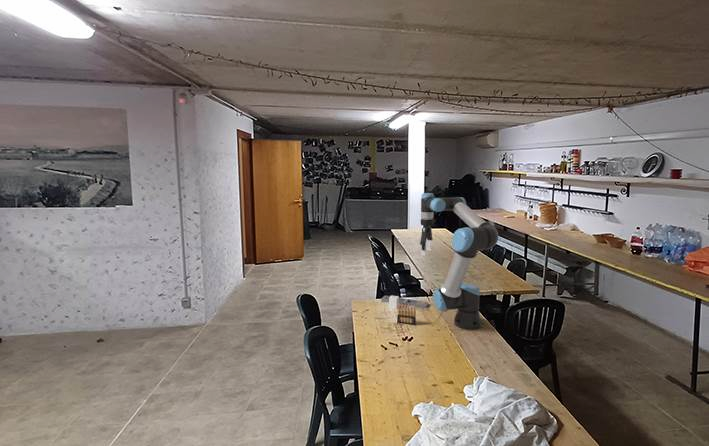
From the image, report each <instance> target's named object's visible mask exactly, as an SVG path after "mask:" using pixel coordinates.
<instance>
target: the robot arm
mask: <svg viewBox="0 0 709 446" xmlns="http://www.w3.org/2000/svg"><path fill="white" fill-rule="evenodd" d="M420 198H421V199H420V213H419V214H420V226H423V227H422V228H421V236H420V243H419V245H420V247H421V248H420V255H421V256H427V251H429V252H431V251H432V241H433V233H432V226H433V225H434V212H436V213H438V212H439V213H440V212H444V211H452V212H453V213H454V214H456V215H457V216H458V217H459V218H460V219H461V220H462V221H463V222H464V224H466V225H468V226H467V227H462V228H457V230H455V231H454V232H453V234H452V237H451V241H452V242H451V244H452V245H451V246H452V247H453V250H454V252H455V253H454V255H453V259H452V261H451V263H450V267H449V270H448V273H447V275H446V278H445V279H444V280H445V281H444V282H442V283H441V284H440V287H439V289H435V290H433V293H432V298H433V303H434V306H435V307H436V308H437V310H439V311H443V310H446V311H450V310H451V311H452V310H456V313H455V315H454V318H453V323H454V325H455V326H456V327H458V328H461V329H466V330H477V329H480V328H481V327H482V319H481V316H480V310H479V309H480V296H481V293H480V288H479V287H478V286H477V285H474V284H471V283H466V282H464V280H465V276H466V275H467V272H468V269H469V267H470V264H471V262H472V259H475V258H476V257H477V256H478V254H479V251H487V250H490V249H493V248H494V247H495V246H496V245H497V244H498V241H499V232H498V229H497V228H496V227H495V226H494V225H493V224H492V223H491V222H490V221H485V219H483V218H482V217H481V216H480V215H478V213H476V212H475V211H474V210H473V209H471V207H469V206H468V205H467V201H466V199H465V198H464V197H461V196H453V197H452V196H451V197H435V195H434V193H431V192H423V193H422V194H421V195H420Z"/></svg>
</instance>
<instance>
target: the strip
mask: <svg viewBox="0 0 709 446" xmlns="http://www.w3.org/2000/svg"><path fill="white" fill-rule="evenodd" d="M390 296H391V295H383V297H382V298H381V299H380V301H381V303H388V304H389V297H390ZM399 303H400V306H401V305H402V303H403V306H405V304H406V307H407V306H408V304H409V307H411V304H412V307H414V305H415V308H421V309H427V308H428V306H429V303H430V302H429V301H425V300H416V299H410V298H405V297H399ZM442 311H443V312H447V310H442Z"/></svg>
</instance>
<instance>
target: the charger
mask: <svg viewBox="0 0 709 446" xmlns="http://www.w3.org/2000/svg"><path fill="white" fill-rule="evenodd" d="M389 296H390V297H389V303H388V309H393V310H398V305H399V298H400V297H399V296H398V295H389Z"/></svg>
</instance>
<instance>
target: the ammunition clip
mask: <svg viewBox="0 0 709 446" xmlns="http://www.w3.org/2000/svg"><path fill="white" fill-rule="evenodd" d="M416 316H417V313H416V307H415V305H414V306H412V304H411V306H409V304H408V306H407V305H406V304H405V305H403V303H402V305H400V303H399V305H398V308H397V319H396V320H397V321H396V323H397V324H401V325H402V324H403V325H408V326H416V325H417V317H416Z"/></svg>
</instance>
